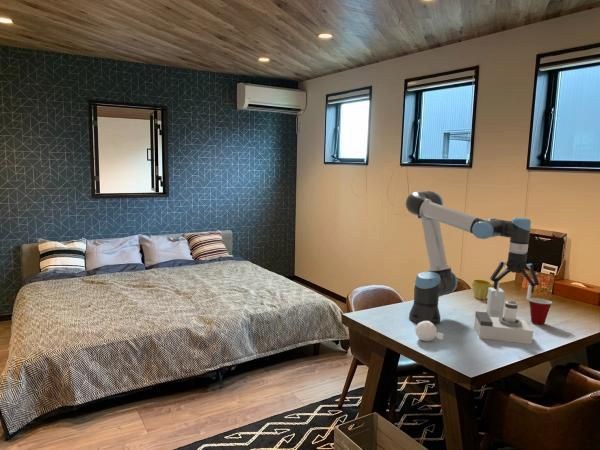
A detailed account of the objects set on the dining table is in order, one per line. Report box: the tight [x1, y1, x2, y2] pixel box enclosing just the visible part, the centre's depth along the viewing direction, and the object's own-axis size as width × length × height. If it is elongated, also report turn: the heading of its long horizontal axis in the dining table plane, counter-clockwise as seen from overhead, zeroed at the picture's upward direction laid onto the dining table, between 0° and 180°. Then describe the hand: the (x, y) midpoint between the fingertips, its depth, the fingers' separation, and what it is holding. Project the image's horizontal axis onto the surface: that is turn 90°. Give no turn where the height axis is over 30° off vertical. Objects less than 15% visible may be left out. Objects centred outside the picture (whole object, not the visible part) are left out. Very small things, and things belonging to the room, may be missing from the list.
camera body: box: [473, 310, 534, 345], centre depth 207 cm, size 22×14×8 cm, turn 78°
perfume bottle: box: [415, 321, 445, 342], centre depth 197 cm, size 9×9×12 cm
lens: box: [503, 300, 519, 323], centre depth 206 cm, size 5×5×10 cm
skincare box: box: [486, 287, 506, 318], centre depth 229 cm, size 8×7×16 cm
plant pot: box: [471, 279, 492, 300], centre depth 266 cm, size 10×10×10 cm
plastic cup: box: [528, 297, 553, 326], centre depth 226 cm, size 11×11×12 cm
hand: (512, 297), depth 205 cm, fingers open, 13 cm apart
